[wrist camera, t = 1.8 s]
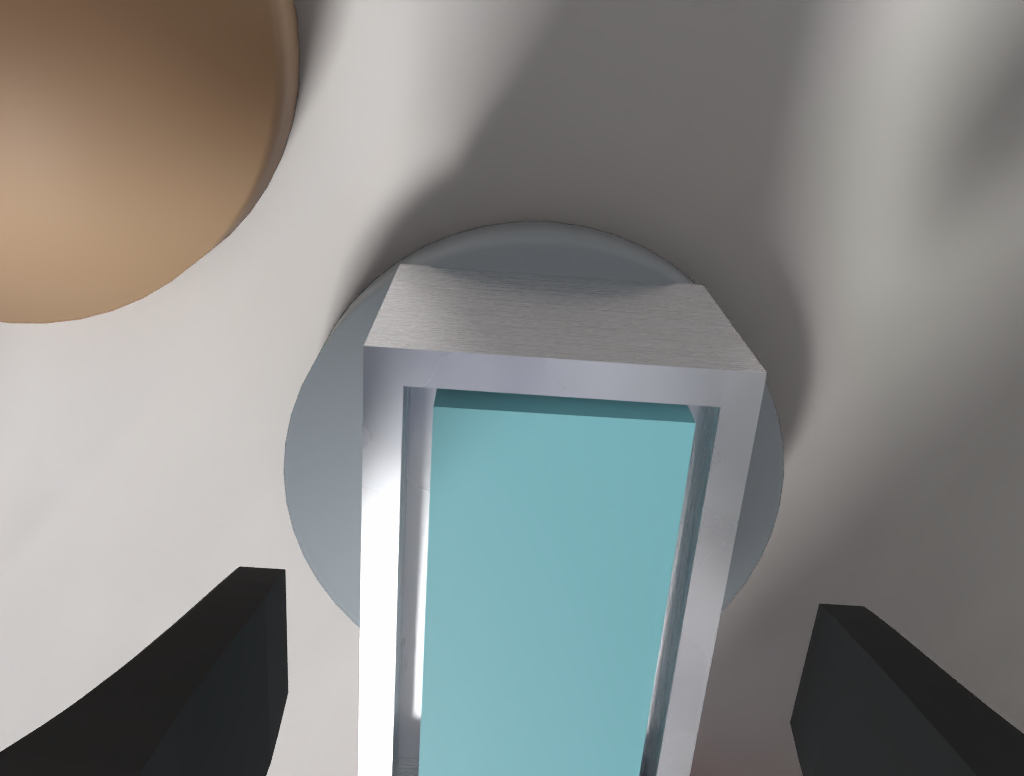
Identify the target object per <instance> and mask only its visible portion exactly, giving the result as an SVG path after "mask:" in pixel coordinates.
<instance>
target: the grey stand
mask: <svg viewBox="0 0 1024 776" xmlns="http://www.w3.org/2000/svg"><path fill="white" fill-rule="evenodd" d="M400 264H409V265H423V266H433V267H448V268H462V269H476V270H491V271H505V272H519V273H533V274H548V275H562V276H576V277H591V278H605V279H619V280H633V281H648V282H662V283H676V284H677V283H680V284H694V285H697V284H696V283H695V282H693V281H692V280H691V279H690V278H688V277H687V276H686V275H685V274H683V273H682V272H681V271H680V270H679V269H677V268H676V267H675V266H674V265H672V264H671V263H669V262H668V261H666V260H664V259H663V258H661V257H659V256H658V255H656V254H654V253H653V252H651V251H649V250H648V249H646V248H644V247H642V246H640V245H637V244H635V243H633V242H630V241H628V240H626V239H623V238H621V237H619V236H616V235H614V234H610V233H606V232H603V231H599V230H596V229H592V228H588V227H585V226H578V225H571V224H564V223H557V222H512V223H504V224H496V225H487V226H483V227H480V228H476V229H472V230H468V231H464V232H460V233H456V234H454V235H451V236H449V237H446V238H444V239H441V240H439V241H436V242H434V243H431V244H429V245H426V246H425V247H423V248H421V249H419V250H418V251H416V252H414V253H412V254H410V255H409V256H407V257H405V258H403V259H402V260H400V261H398V262H397V263H396V264H394V265H393V266H392V267H390V268H389V269H388V270H387V271H385V272H384V273H383V274H381V275H380V276H379V277H377V278H376V279H375V280H374V281H373V282H372V283H371V284H370V285H369V286H368V287H367V288H366V289H365V290H364V291H363V292H362V293H361V294H360V295H359V296H358V297H357V298H356V299H355V300H354V301H353V302H352V303H351V305H350V306H349V307H348V309H347V310H346V311H345V313H344V314H343V315H342V317H341V318H340V319H339V321H338V322H337V324H336V325H335V327H334V328H333V330H332V332H331V334H330V335H329V337H328V339H327V341H326V342H325V344H324V346H323V348H322V350H321V351H320V353H319V355H318V357H317V358H316V360H315V362H314V364H313V366H312V368H311V370H310V371H309V373H308V375H307V377H306V379H305V381H304V382H303V384H302V386H301V389H300V392H299V394H298V397H297V400H296V403H295V405H294V408H293V411H292V414H291V418H290V423H289V428H288V433H287V437H286V442H285V457H284V482H285V493H286V503H287V507H288V511H289V515H290V519H291V523H292V527H293V531H294V533H295V536H296V538H297V540H298V543H299V545H300V548H301V550H302V553H303V555H304V557H305V559H306V561H307V563H308V564H309V566H310V568H311V570H312V571H313V573H314V575H315V577H316V578H317V580H318V582H319V583H320V584H321V586H322V587H323V588H324V590H325V591H326V592H327V593H328V595H329V596H330V597H331V599H332V600H333V601H334V603H335V604H336V605H337V606H338V607H339V608H340V609H341V610H342V611H343V612H344V613H345V614H346V615H347V616H348V617H349V618H350V619H351V620H352V621H353V622H354V623H355V624H356V625H357V626H359V627H360V610H361V523H362V436H363V349H364V344H365V341H366V339H367V337H368V335H369V332H370V330H371V328H372V326H373V323H374V321H375V319H376V317H377V314H378V312H379V310H380V308H381V305H382V303H383V301H384V299H385V296H386V294H387V292H388V290H389V287H390V285H391V283H392V281H393V278H394V276H395V274H396V272H397V269H398V267H399V265H400ZM783 477H784V470H783V443H782V436H781V430H780V424H779V418H778V415H777V412H776V408H775V405H774V402H773V399H772V396H771V393H770V390H769V388H768V386H767V383H766V381H765V386H764V391H763V396H762V402H761V407H760V412H759V417H758V422H757V428H756V433H755V438H754V443H753V448H752V454H751V459H750V464H749V469H748V474H747V480H746V485H745V490H744V495H743V500H742V506H741V511H740V516H739V521H738V526H737V531H736V537H735V542H734V547H733V552H732V557H731V563H730V568H729V573H728V578H727V583H726V589H725V594H724V599H723V604H722V609H721V611H722V610H723V609H724V608H725V607H726V606H727V605H728V604H729V603H730V601H731V600H732V599H733V598H734V596H735V595H736V594H737V593H738V591H739V590H740V589H741V588H742V587H743V585H744V584H745V583H746V581H747V579H748V578H749V576H750V575H751V573H752V571H753V570H754V568H755V566H756V565H757V563H758V562H759V560H760V558H761V556H762V553H763V551H764V549H765V547H766V545H767V542H768V540H769V538H770V536H771V533H772V530H773V527H774V523H775V520H776V516H777V513H778V509H779V506H780V499H781V492H782V484H783Z"/></svg>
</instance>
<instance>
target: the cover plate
mask: <svg viewBox="0 0 1024 776" xmlns="http://www.w3.org/2000/svg"><path fill="white" fill-rule="evenodd" d="M695 425H696V422H695V420H694V418H693V416H692V414H691V412H690V409H689V407H688V405H681V404H666V403H650V402H635V401H620V400H605V399H590V398H575V397H560V396H545V395H529V394H514V393H499V392H484V391H469V390H454V389H439V388H437V390H436V395H435V400H434V405H433V425H432V450H431V475H430V500H429V525H428V550H427V575H426V600H425V625H424V650H423V675H422V700H421V725H420V751H419V776H639V774H640V768H641V761H642V755H643V749H644V743H645V737H646V730H647V724H648V718H649V712H650V705H651V699H652V693H653V687H654V681H655V674H656V668H657V662H658V656H659V649H660V643H661V637H662V631H663V624H664V618H665V612H666V606H667V600H668V593H669V587H670V581H671V575H672V568H673V562H674V556H675V550H676V543H677V537H678V531H679V525H680V519H681V512H682V506H683V500H684V494H685V487H686V481H687V475H688V469H689V463H690V456H691V450H692V444H693V438H694V431H695Z"/></svg>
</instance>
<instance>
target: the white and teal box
mask: <svg viewBox="0 0 1024 776" xmlns="http://www.w3.org/2000/svg"><path fill="white" fill-rule="evenodd" d="M766 376H767V372H766V371H765V370H764V368H763V367H762V365H761V364H760V363H759V361H758V360H757V359H756V357H755V356H754V354H753V353H752V352H751V350H750V349H749V348H748V346H747V345H746V343H745V342H744V341H743V339H742V338H741V337H740V335H739V334H738V332H737V331H736V330H735V328H734V327H733V326H732V324H731V323H730V321H729V320H728V319H727V317H726V316H725V315H724V313H723V312H722V310H721V309H720V308H719V306H718V305H717V304H716V302H715V301H714V299H713V298H712V297H711V295H710V294H709V293H708V291H707V290H706V288H705V287H704V286H703V285H694V284H680V283H677V284H676V283H662V282H648V281H633V280H619V279H605V278H591V277H576V276H562V275H548V274H533V273H519V272H505V271H491V270H476V269H462V268H448V267H433V266H423V265H409V264H400V265H399V267H398V269H397V272H396V274H395V276H394V278H393V281H392V283H391V285H390V287H389V290H388V292H387V294H386V296H385V299H384V301H383V303H382V305H381V308H380V310H379V312H378V314H377V317H376V319H375V321H374V323H373V326H372V328H371V330H370V332H369V335H368V337H367V339H366V341H365V344H364V349H363V436H362V523H361V610H360V698H359V776H419V751H420V725H421V700H422V675H423V650H424V625H425V600H426V575H427V550H428V525H429V500H430V475H431V450H432V425H433V405H434V400H435V395H436V390H437V388H439V389H454V390H469V391H484V392H499V393H514V394H529V395H545V396H560V397H575V398H590V399H605V400H620V401H635V402H650V403H666V404H681V405H688V407H689V409H690V412H691V414H692V416H693V418H694V420H695V422H696V425H695V431H694V438H693V444H692V450H691V456H690V463H689V469H688V475H687V481H686V487H685V494H684V500H683V506H682V512H681V519H680V525H679V531H678V537H677V543H676V550H675V556H674V562H673V568H672V575H671V581H670V587H669V593H668V600H667V606H666V612H665V618H664V624H663V631H662V637H661V643H660V649H659V656H658V662H657V668H656V674H655V681H654V687H653V693H652V699H651V705H650V712H649V718H648V724H647V730H646V737H645V743H644V749H643V755H642V761H641V768H640V774H639V776H690V771H691V765H692V760H693V755H694V750H695V745H696V739H697V734H698V729H699V724H700V719H701V713H702V708H703V703H704V698H705V693H706V687H707V682H708V677H709V672H710V667H711V661H712V656H713V651H714V646H715V641H716V635H717V630H718V625H719V620H720V615H721V609H722V604H723V599H724V594H725V589H726V583H727V578H728V573H729V568H730V563H731V557H732V552H733V547H734V542H735V537H736V531H737V526H738V521H739V516H740V511H741V506H742V500H743V495H744V490H745V485H746V480H747V474H748V469H749V464H750V459H751V454H752V448H753V443H754V438H755V433H756V428H757V422H758V417H759V412H760V407H761V402H762V396H763V391H764V386H765V381H766Z"/></svg>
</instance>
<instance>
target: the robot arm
mask: <svg viewBox="0 0 1024 776" xmlns="http://www.w3.org/2000/svg"><path fill="white" fill-rule="evenodd" d="M287 695H288V663H287V620H286V577H285V569H269V568H254V567H239V568H237V569H236V570H235V571H234V572H232V573H231V574H230V575H229V576H228V577H227V578H225V579H224V580H223V581H222V582H221V583H220V584H218V585H217V586H216V587H215V588H214V589H213V590H212V591H211V592H209V593H208V594H207V595H206V596H205V597H204V598H203V599H202V600H201V601H199V602H198V603H197V604H196V605H195V606H194V607H193V608H192V609H190V610H189V611H188V612H187V613H186V614H185V615H184V616H182V617H181V618H180V619H179V620H178V621H177V622H176V623H175V624H173V625H172V626H171V627H170V628H169V629H167V630H166V631H165V632H164V633H163V634H162V635H160V636H159V637H158V638H157V639H156V640H154V641H153V642H152V643H151V644H150V645H148V646H147V647H146V648H145V649H144V650H143V651H141V652H140V653H139V654H138V655H137V656H135V657H134V658H133V659H132V660H130V661H129V662H128V663H127V664H126V665H124V666H123V667H122V668H120V669H119V670H118V671H117V672H115V673H114V674H113V675H111V676H110V677H109V678H107V679H106V680H105V681H103V682H102V683H101V684H99V685H98V686H97V687H96V688H94V689H93V690H92V691H90V692H89V693H88V694H86V695H85V696H84V697H82V698H81V699H80V700H78V701H77V702H76V703H74V704H73V705H71V706H70V707H69V708H67V709H66V710H64V711H63V712H61V713H60V714H58V715H57V716H55V717H54V718H52V719H51V720H50V721H48V722H47V723H45V724H44V725H42V726H41V727H39V728H37V729H36V730H34V731H33V732H31V733H30V734H28V735H26V736H25V737H23V738H22V739H20V740H19V741H17V742H15V743H14V744H12V745H11V746H9V747H7V748H6V749H4V750H3V751H1V752H0V776H266V774H267V772H268V769H269V766H270V763H271V760H272V756H273V752H274V748H275V744H276V740H277V737H278V733H279V729H280V724H281V720H282V716H283V712H284V708H285V704H286V699H287ZM790 724H791V728H792V732H793V737H794V741H795V745H796V749H797V754H798V758H799V762H800V766H801V770H802V773H803V776H1024V734H1023V733H1022V732H1020V731H1019V730H1018V729H1016V728H1015V727H1014V726H1013V725H1011V724H1010V723H1009V722H1007V721H1006V720H1005V719H1003V718H1002V717H1001V716H1000V715H998V714H997V713H996V712H994V711H993V710H992V709H991V708H989V707H988V706H987V705H986V704H984V703H983V702H982V701H981V700H979V699H978V698H977V697H976V696H974V695H973V694H972V693H971V692H969V691H968V690H967V689H966V688H964V687H963V686H962V685H961V684H960V683H958V682H957V681H956V680H955V679H953V678H952V677H951V676H950V675H949V674H947V673H946V672H945V671H944V670H942V669H941V668H940V667H939V666H938V665H936V664H935V663H934V662H933V661H932V660H930V659H929V658H928V657H927V656H926V655H924V654H923V653H922V652H921V651H920V650H918V649H917V648H916V647H915V646H914V645H912V644H911V643H910V642H909V641H907V640H906V639H905V638H904V637H903V636H901V635H900V634H899V633H898V632H897V631H895V630H894V629H893V628H892V627H890V626H889V625H888V624H887V623H885V622H884V621H883V620H881V619H880V618H879V617H878V616H876V615H875V614H874V613H872V612H871V611H869V610H868V609H867V608H865V607H863V606H847V605H832V604H819V607H818V611H817V615H816V619H815V623H814V628H813V632H812V636H811V640H810V644H809V648H808V652H807V656H806V660H805V664H804V668H803V672H802V677H801V681H800V685H799V689H798V693H797V697H796V701H795V705H794V709H793V713H792V717H791V722H790Z"/></svg>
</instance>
